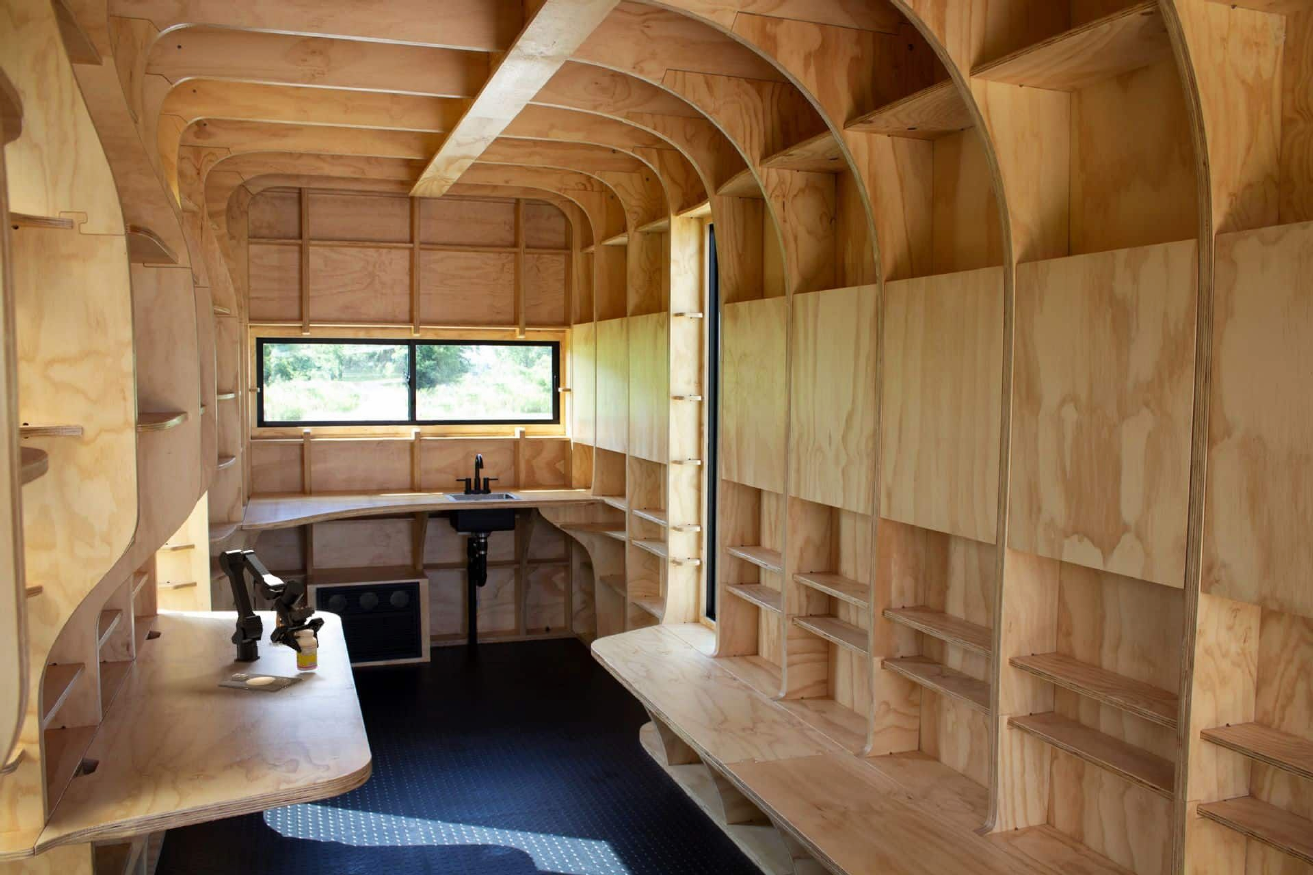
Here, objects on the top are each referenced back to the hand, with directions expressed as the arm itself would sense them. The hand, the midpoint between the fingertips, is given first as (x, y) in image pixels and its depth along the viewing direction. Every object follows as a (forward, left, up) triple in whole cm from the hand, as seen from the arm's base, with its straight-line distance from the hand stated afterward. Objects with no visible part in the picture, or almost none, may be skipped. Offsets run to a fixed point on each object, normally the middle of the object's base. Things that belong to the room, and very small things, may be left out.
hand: (309, 649), depth 371 cm
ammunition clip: (-38, +38, -8) cm, 55 cm away
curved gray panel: (-8, -15, -8) cm, 19 cm away
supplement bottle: (-1, 0, -7) cm, 7 cm away
